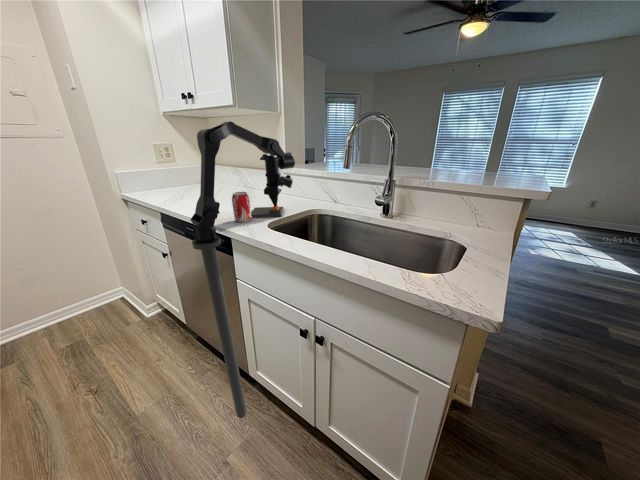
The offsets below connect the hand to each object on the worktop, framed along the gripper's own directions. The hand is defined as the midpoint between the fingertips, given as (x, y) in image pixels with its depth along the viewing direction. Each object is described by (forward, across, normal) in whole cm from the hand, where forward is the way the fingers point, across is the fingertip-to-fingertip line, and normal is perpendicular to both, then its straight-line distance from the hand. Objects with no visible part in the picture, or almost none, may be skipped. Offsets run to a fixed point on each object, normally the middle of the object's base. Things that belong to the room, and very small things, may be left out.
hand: (275, 206), depth 117 cm
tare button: (+2, 0, 0) cm, 2 cm away
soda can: (+4, -6, +14) cm, 16 cm away
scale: (+4, +4, +4) cm, 7 cm away
